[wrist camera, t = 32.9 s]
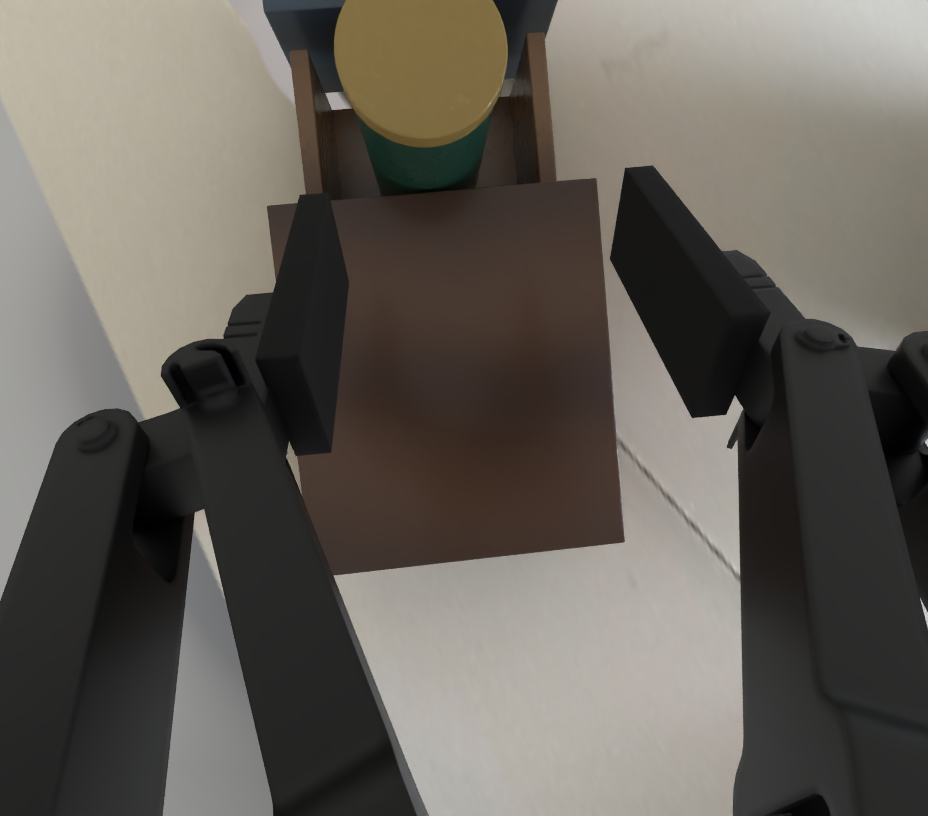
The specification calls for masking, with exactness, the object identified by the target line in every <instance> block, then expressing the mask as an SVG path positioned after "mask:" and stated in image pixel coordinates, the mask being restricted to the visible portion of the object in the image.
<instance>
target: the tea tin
mask: <svg viewBox="0 0 928 816" xmlns="http://www.w3.org/2000/svg"><path fill="white" fill-rule="evenodd" d="M334 56H335V63H336V68H337V71H338V75H339V78H340V81H341V84H342V87H343V90H344V92H345V95H346V97H347V99H348V101H349V102H350V104H351V106H352V108H353V109H354V110H355V113H356V117H357V120H358V123H359V126H360V129H361V132H362V136H363V139H364V142H365V145H366V148H367V151H368V155H369V158H370V161H371V164H372V167H373V170H374V174H375V177H376V180H377V183H378V186H379V189H380V193H381V196H389V195H401V194H413V193H425V192H436V191H448V190H460V189H472V188H476V185H477V180H478V175H479V171H480V166H481V162H482V157H483V152H484V148H485V143H486V138H487V134H488V129H489V124H490V120H491V115H492V111H493V107H494V105H495V103H496V102H497V99H498V97H499V94H500V92H501V88H502V85H503V81H504V77H505V72H506V67H507V59H508V45H507V37H506V32H505V28H504V24H503V21H502V18H501V16H500V13H499V11H498V9H497V7H496V5H495V4H494V2H493V0H346V1H345V3H344V5H343V7H342V9H341V12H340V14H339V17H338V20H337V24H336V28H335V36H334Z"/></svg>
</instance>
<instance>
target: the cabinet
mask: <svg viewBox="0 0 928 816" xmlns="http://www.w3.org/2000/svg"><path fill="white" fill-rule="evenodd" d="M331 205H332V209H333V213H334V218H335V222H336V226H337V231H338V235H339V239H340V244H341V248H342V253H343V257H344V261H345V266H346V270H347V274H348V279H349V290H348V299H347V309H346V318H345V328H344V337H343V347H342V357H341V366H340V376H339V385H338V395H337V404H336V414H335V423H334V433H333V443H332V452H331V453H324V454H313V455H303V456H297V457H298V465H299V473H300V481H301V490H302V498H303V500H304V503H305V505H306V508H307V510H308V513H309V515H310V518H311V520H312V523H313V526H314V528H315V531H316V533H317V536H318V538H319V541H320V543H321V546H322V548H323V551H324V553H325V556H326V559H327V561H328V564H329V566H330V569H331V571H332V574H333V575H342V574H350V573H359V572H368V571H377V570H385V569H394V568H403V567H412V566H421V565H429V564H438V563H447V562H456V561H464V560H473V559H482V558H491V557H500V556H508V555H517V554H526V553H535V552H543V551H552V550H561V549H570V548H579V547H587V546H596V545H605V544H614V543H622V542H625V537H624V524H623V511H622V498H621V486H620V473H619V460H618V447H617V434H616V422H615V409H614V396H613V383H612V370H611V358H610V345H609V332H608V319H607V306H606V294H605V281H604V268H603V255H602V242H601V230H600V217H599V204H598V191H597V179H596V178H590V179H578V180H567V181H555V182H543V183H531V184H519V185H507V186H496V187H484V188H472V189H460V190H448V191H436V192H425V193H413V194H401V195H389V196H377V197H365V198H354V199H342V200H331ZM296 207H297V203H294V204H283V205H271V206H267V211H268V219H269V228H270V236H271V244H272V252H273V260H274V268H275V277H276V280H277V277H278V273H279V269H280V266H281V262H282V258H283V254H284V251H285V247H286V243H287V240H288V236H289V232H290V229H291V225H292V221H293V218H294V214H295V210H296Z"/></svg>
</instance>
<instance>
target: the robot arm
mask: <svg viewBox="0 0 928 816" xmlns="http://www.w3.org/2000/svg"><path fill="white" fill-rule="evenodd" d="M610 260H611V262H612V264H613V266H614V268H615V270H616V272H617V274H618V276H619V278H620V280H621V282H622V284H623V285H624V287H625V289H626V291H627V293H628V295H629V297H630V299H631V301H632V303H633V305H634V307H635V309H636V311H637V313H638V315H639V316H640V318H641V320H642V322H643V324H644V326H645V328H646V330H647V332H648V334H649V336H650V338H651V340H652V342H653V344H654V345H655V347H656V349H657V351H658V353H659V355H660V357H661V359H662V361H663V363H664V365H665V367H666V369H667V371H668V373H669V375H670V376H671V378H672V380H673V382H674V384H675V386H676V388H677V390H678V392H679V394H680V396H681V398H682V400H683V402H684V404H685V406H686V407H687V409H688V411H689V413H690V415H691V417H692V418H697V417H708V416H718V415H726V414H727V411H728V409H729V407H730V405H731V402H732V400H733V398H734V396H736V397H737V399H738V401H739V402H740V404H741V405H742V407H743V411H742V413H741V415H740V418H739V420H738V422H737V424H736V426H735V428H734V430H733V433H732V435H731V437H730V439H729V441H728V445H727V448H730V449H732V448H733V446H734V444H735V442H736V441H737V440H738V482H739V531H740V580H741V630H742V679H743V729H744V739H743V751H742V756H741V760H740V763H739V766H738V769H737V772H736V777H735V783H734V792H733V816H928V628H927V624H926V620H925V616H924V612H923V608H922V604H921V600H922V602H923V604H924V606H925V608H926V610H927V612H928V447H927V445H926V444H925V441H926V440H927V439H928V331H923V332H914V333H911V334H910V335H908V336H906V337H904V339H903V340H902V342H901V343H900V345H899V346H898V348H897V349H896V351H891V350H883V349H874V348H866V347H858V346H857V345H856V344H855V342H854V340H853V338H852V337H851V336H850V335H849V334H848V333H846V332H845V331H844V330H843V329H841V328H839V327H837V326H835V325H832V324H830V323H828V322H823V321H819V320H815V319H805V318H804V317H803V315H802V314H801V313H800V312H799V311H798V310H797V308H796V307H795V306H794V305H793V304H792V303H791V302H790V300H789V299H788V298H787V297H786V296H785V295H784V293H783V292H782V291H781V290H780V289H779V288H778V287H776V284H775V283H774V282H773V281H772V280H771V278H770V277H767V274H766V273H765V271H764V270H763V269H762V268H761V267H760V266H759V264H758V263H757V262H756V261H755V260H753V259H751V258H750V257H748V256H746V255H744V254H743V253H741V252H739V251H738V250H733V251H721V250H720V248H719V247H718V246H717V245H716V243H715V242H714V241H713V240H712V238H711V237H710V236H709V235H708V233H707V232H706V231H705V230H704V228H703V227H702V226H701V225H700V223H699V222H698V221H697V220H696V218H695V217H694V216H693V215H692V213H691V212H690V211H689V210H688V208H687V207H686V206H685V205H684V203H683V202H682V201H681V200H680V198H679V197H678V196H677V195H676V193H675V192H674V191H673V190H672V188H671V187H670V186H669V185H668V183H667V182H666V181H665V180H664V178H663V177H662V176H661V175H660V173H659V172H658V171H657V170H656V168H655V167H654V166H642V167H630V168H625V171H624V177H623V183H622V189H621V195H620V202H619V208H618V214H617V220H616V226H615V232H614V238H613V244H612V250H611V256H610ZM348 290H349V279H348V274H347V270H346V266H345V261H344V257H343V253H342V248H341V244H340V239H339V235H338V231H337V226H336V222H335V218H334V213H333V209H332V205H331V200H330V196H329V193H318V194H306V195H300V196H299V199H298V203H297V207H296V210H295V214H294V218H293V221H292V225H291V229H290V232H289V236H288V240H287V243H286V247H285V251H284V254H283V258H282V262H281V266H280V269H279V273H278V277H277V280H276V284H275V288H274V291H273V293H262V294H251V295H246V296H245V297H244V298H243V299H242V300H241V301H240V302H239V303H238V304H237V305H236V306H235V307H234V308H233V310H232V312H231V315H230V318H229V321H228V327H226V330H225V333H224V335H223V336H224V339H205V340H201V341H196V342H193V343H190V344H188V345H186V346H184V347H181V348H180V349H178V350H177V351H176V352H174V353H173V354H172V355H170V356H169V357H168V358H167V360H166V361H165V363H164V364H163V365H162V370H161V377H162V379H163V380H164V382H165V384H166V385H167V387H168V388H169V390H170V392H171V393H172V395H173V397H174V398H175V400H176V402H177V403H178V405H179V407H180V408H179V409H177V410H174V411H172V412H169V413H167V414H163V415H160V416H157V417H154V418H151V419H148V420H145V421H142V422H137V420H136V419H135V418H134V417H133V416H132V415H131V413H130V412H128V411H125V410H121V409H104V410H100V411H97V412H94V413H91V414H88V415H86V416H85V417H83V418H81V419H79V420H78V421H76V422H74V423H73V424H72V425H71V426H69V427H68V428H67V429H66V430H65V431H64V432H63V433H62V434H61V436H60V438H59V440H58V441H57V443H56V445H55V448H54V451H53V453H52V456H51V459H50V462H49V465H48V468H47V470H46V473H45V476H44V479H43V482H42V485H41V487H40V490H39V493H38V496H37V499H36V502H35V505H34V507H33V510H32V513H31V516H30V519H29V522H28V524H27V527H26V530H25V533H24V535H23V538H22V541H21V544H20V547H19V550H18V552H17V555H16V558H15V561H14V564H13V567H12V570H11V572H10V575H9V578H8V581H7V584H6V586H5V589H4V592H3V595H2V598H1V601H0V816H162V815H163V806H164V796H165V787H166V777H167V768H168V758H169V750H170V740H171V730H172V721H173V712H174V702H175V693H176V683H177V674H178V665H179V655H180V646H181V637H182V627H183V618H184V609H185V599H186V590H187V580H188V570H189V561H190V552H191V542H192V533H193V524H194V515H195V512H197V511H200V510H202V509H204V510H205V514H206V518H207V523H208V527H209V531H210V535H211V540H212V544H213V548H214V553H215V557H216V561H217V565H218V570H219V574H220V578H221V582H222V587H223V591H224V595H225V600H226V604H227V608H228V612H229V616H230V621H231V625H232V629H233V634H234V638H235V642H236V647H237V650H238V655H239V659H240V664H241V667H242V672H243V676H244V681H245V685H246V689H247V693H248V698H249V702H250V706H251V710H252V715H253V719H254V723H255V728H256V732H257V736H258V740H259V745H260V749H261V753H262V758H263V762H264V766H265V770H266V775H267V779H268V783H269V787H270V792H271V797H272V803H273V816H429V815H428V813H427V810H426V808H425V806H424V803H423V801H422V799H421V796H420V794H419V792H418V789H417V787H416V784H415V782H414V779H413V777H412V774H411V772H410V769H409V767H408V764H407V762H406V759H405V757H404V754H403V752H402V749H401V746H400V744H399V741H398V739H397V736H396V734H395V731H394V729H393V726H392V724H391V721H390V719H389V716H388V713H387V711H386V708H385V706H384V703H383V701H382V698H381V696H380V693H379V691H378V688H377V686H376V683H375V680H374V678H373V675H372V673H371V670H370V668H369V665H368V663H367V660H366V658H365V655H364V652H363V650H362V647H361V645H360V642H359V640H358V637H357V635H356V632H355V630H354V627H353V625H352V622H351V619H350V617H349V614H348V612H347V609H346V607H345V604H344V602H343V599H342V597H341V594H340V592H339V589H338V586H337V584H336V581H335V579H334V576H333V574H332V571H331V569H330V566H329V564H328V561H327V559H326V556H325V553H324V551H323V548H322V546H321V543H320V541H319V538H318V536H317V533H316V531H315V528H314V526H313V523H312V520H311V518H310V515H309V513H308V510H307V508H306V505H305V503H304V500H303V498H302V495H301V492H300V490H299V487H298V485H297V482H296V480H295V477H294V475H293V472H292V470H291V467H290V465H289V463H288V461H287V458H286V455H287V449H288V443H289V441H290V444H291V446H292V448H293V451H294V453H295V455H296V456H303V455H313V454H324V453H331V452H332V443H333V433H334V423H335V414H336V404H337V395H338V385H339V376H340V366H341V357H342V347H343V337H344V328H345V318H346V309H347V299H348ZM920 598H921V600H920Z"/></svg>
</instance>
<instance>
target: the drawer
mask: <svg viewBox="0 0 928 816" xmlns="http://www.w3.org/2000/svg"><path fill="white" fill-rule="evenodd" d="M345 1H346V0H263V8H264V12H265V15H266V17H267V19H268V21H269V23H270V25H271V27H272V29H273V31H274V33H275V35H276V38H277V40H278V42H279V44H280V46H281V48H282V50H283V52H284V54H285V56H286V58H287V60H288V62H289V64H290V67H291V70H292V78H293V87H294V96H295V104H296V113H297V121H298V130H299V138H300V147H301V156H302V164H303V173H304V181H305V190H306V194H318V193H329V196H330V200H342V199H354V198H365V197H377V196H381V193H380V189H379V186H378V183H377V180H376V177H375V174H374V170H373V167H372V164H371V161H370V158H369V155H368V151H367V148H366V145H365V142H364V139H363V136H362V132H361V129H360V126H359V123H358V120H357V117H356V113H355V110H354V109H342V110H332V109H331V107H330V104H329V102H328V99H327V97H326V94H325V93H328V92H329V93H330V92H343V91H344V90H343V87H342V84H341V81H340V78H339V75H338V71H337V68H336V63H335V56H334V36H335V28H336V24H337V20H338V17H339V14H340V12H341V9H342V7H343V5H344V3H345ZM557 1H558V0H493V2H494V4H495V5H496V7H497V9H498V11H499V13H500V16H501V18H502V21H503V24H504V28H505V32H506V37H507V45H508V59H507V67H506V72H505V77H504V79H514V78H515V79H514V83H513V87H512V91H511V94H510V96H509V97H498V99H497V102H496V103H495V105H494V107H493V111H492V115H491V120H490V124H489V129H488V134H487V138H486V143H485V148H484V152H483V157H482V162H481V166H480V171H479V175H478V180H477V185H476V188H484V187H496V186H507V185H519V184H531V183H543V182H555V181H557V180H556V168H555V156H554V144H553V132H552V120H551V108H550V96H549V84H548V72H547V60H546V48H545V38H546V35H547V32H548V29H549V26H550V23H551V20H552V17H553V14H554V10H555V7H556V4H557Z"/></svg>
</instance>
